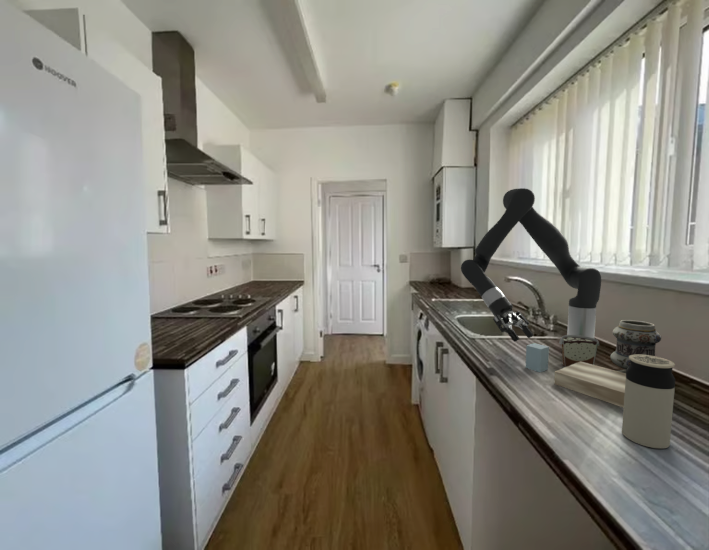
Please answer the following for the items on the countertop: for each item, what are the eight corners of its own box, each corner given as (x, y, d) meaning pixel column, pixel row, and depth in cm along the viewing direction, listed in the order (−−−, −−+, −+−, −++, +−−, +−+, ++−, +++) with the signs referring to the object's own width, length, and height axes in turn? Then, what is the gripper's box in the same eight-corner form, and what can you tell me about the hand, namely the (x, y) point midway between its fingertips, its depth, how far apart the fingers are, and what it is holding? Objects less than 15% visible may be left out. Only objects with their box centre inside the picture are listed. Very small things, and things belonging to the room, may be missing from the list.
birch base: (579, 373, 111) (580, 361, 111) (648, 393, 96) (650, 379, 96) (554, 384, 103) (554, 371, 102) (625, 408, 87) (626, 393, 87)
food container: (587, 361, 121) (589, 334, 120) (597, 368, 115) (599, 339, 114) (551, 360, 123) (553, 334, 122) (560, 367, 117) (561, 339, 116)
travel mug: (674, 454, 68) (681, 369, 67) (624, 442, 73) (630, 362, 71) (664, 435, 75) (671, 357, 73) (619, 425, 79) (624, 351, 78)
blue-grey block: (533, 365, 119) (534, 343, 118) (547, 369, 115) (549, 346, 114) (525, 367, 116) (526, 345, 115) (539, 372, 112) (540, 349, 111)
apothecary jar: (650, 373, 110) (654, 320, 108) (665, 388, 99) (670, 328, 97) (605, 368, 115) (608, 317, 113) (615, 381, 104) (618, 324, 102)
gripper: (491, 297, 121) (519, 336, 112) (514, 294, 128) (543, 330, 120) (478, 309, 126) (504, 347, 117) (501, 305, 133) (528, 341, 125)
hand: (524, 338), depth 118 cm, fingers open, 8 cm apart
